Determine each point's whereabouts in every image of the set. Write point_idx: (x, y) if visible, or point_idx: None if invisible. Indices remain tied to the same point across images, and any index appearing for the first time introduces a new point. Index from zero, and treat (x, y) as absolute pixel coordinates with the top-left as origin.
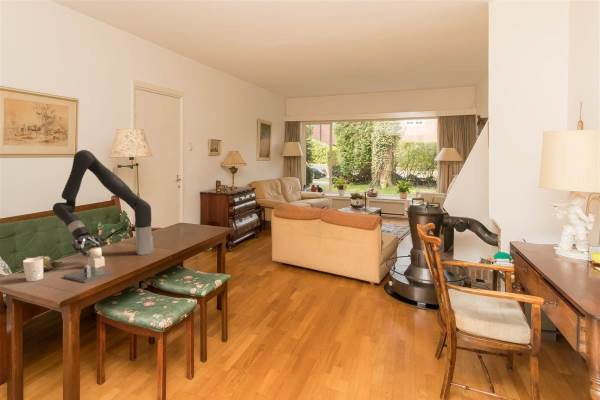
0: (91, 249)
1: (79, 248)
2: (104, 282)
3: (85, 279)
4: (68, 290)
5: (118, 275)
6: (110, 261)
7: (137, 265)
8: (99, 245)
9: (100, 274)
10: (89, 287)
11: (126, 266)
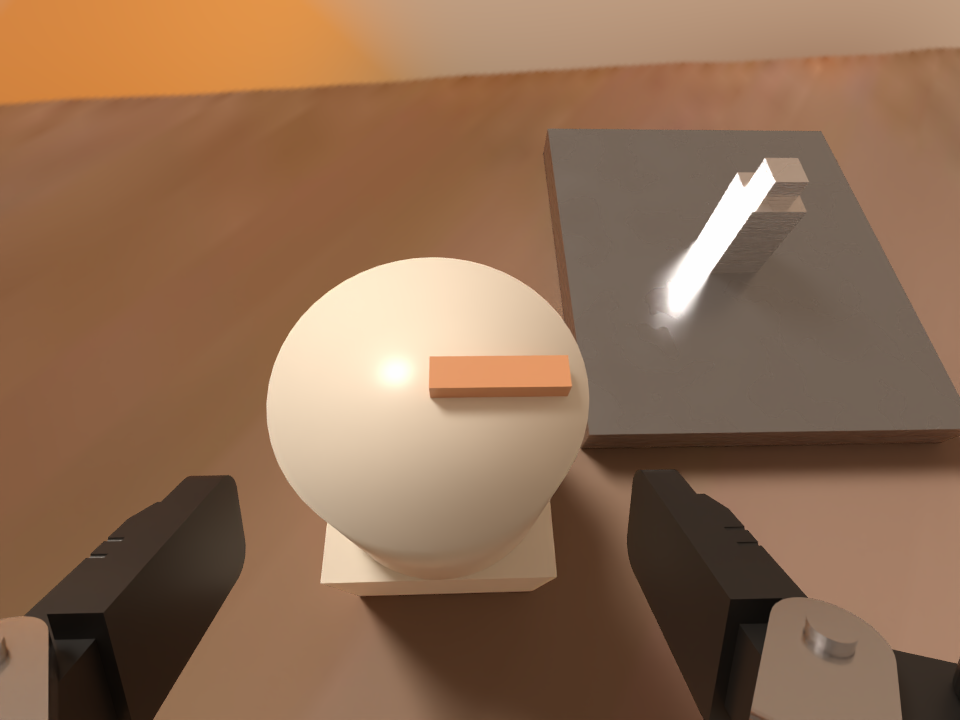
0: (567, 365)
1: (915, 659)
2: (691, 66)
3: (813, 134)
4: (950, 132)
5: (537, 88)
6: None
7: (247, 136)
8: (58, 608)
9: (663, 131)
10: (809, 73)
11: (310, 193)
